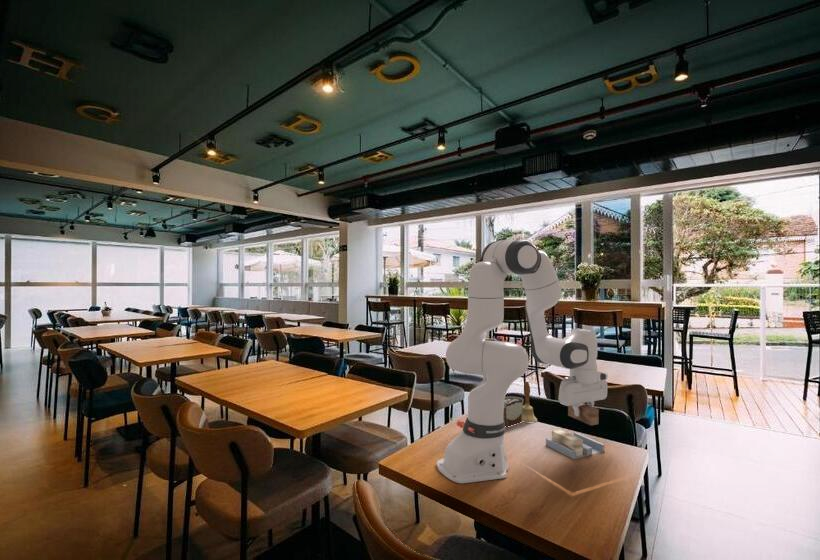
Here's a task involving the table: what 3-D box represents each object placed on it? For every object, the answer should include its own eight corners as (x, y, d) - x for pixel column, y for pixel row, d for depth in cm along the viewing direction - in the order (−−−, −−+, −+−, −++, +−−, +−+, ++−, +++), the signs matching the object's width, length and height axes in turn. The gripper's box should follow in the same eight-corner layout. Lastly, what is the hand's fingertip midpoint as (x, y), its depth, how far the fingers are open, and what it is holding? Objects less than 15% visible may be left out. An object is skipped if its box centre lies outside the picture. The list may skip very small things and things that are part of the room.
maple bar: (582, 454, 127) (582, 439, 127) (575, 456, 126) (575, 441, 126) (559, 443, 136) (559, 429, 136) (551, 445, 135) (551, 430, 135)
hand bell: (534, 424, 157) (534, 385, 157) (514, 420, 161) (514, 382, 161) (539, 418, 164) (539, 381, 164) (520, 415, 168) (520, 378, 168)
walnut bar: (598, 424, 130) (598, 409, 130) (590, 425, 129) (590, 410, 129) (575, 414, 140) (575, 400, 140) (568, 415, 138) (568, 401, 138)
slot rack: (573, 461, 124) (573, 452, 124) (545, 447, 135) (545, 438, 135) (604, 453, 130) (604, 444, 130) (575, 440, 141) (575, 432, 141)
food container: (511, 418, 164) (511, 394, 164) (523, 422, 159) (523, 397, 160) (492, 424, 157) (492, 399, 157) (504, 428, 152) (505, 403, 152)
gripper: (568, 380, 127) (568, 422, 127) (610, 374, 136) (610, 413, 136) (554, 375, 133) (553, 416, 133) (595, 370, 142) (595, 407, 142)
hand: (582, 414), depth 134 cm, fingers closed on walnut bar, 4 cm apart
